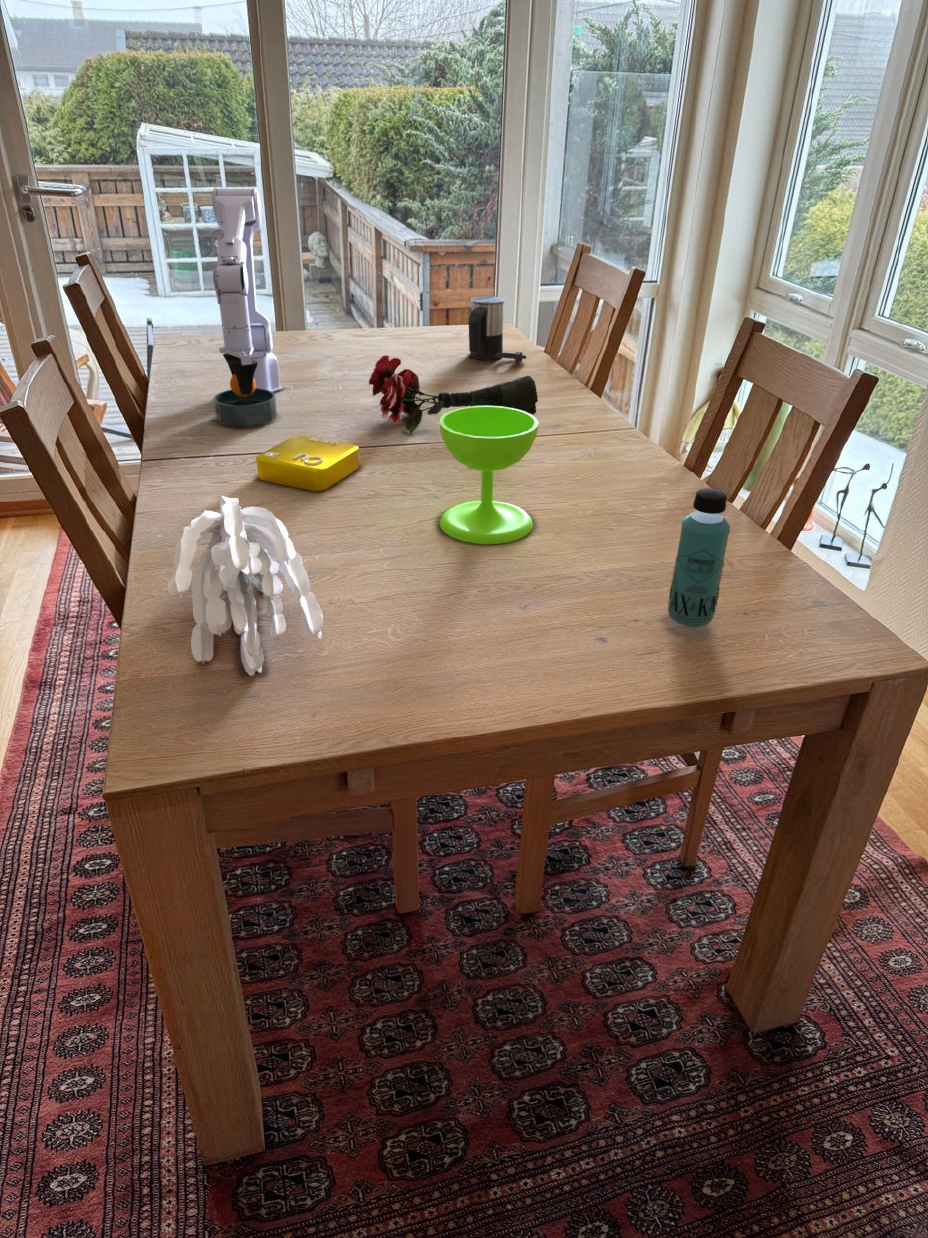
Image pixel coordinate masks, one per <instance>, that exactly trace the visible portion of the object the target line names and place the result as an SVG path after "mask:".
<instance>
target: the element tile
mask: <svg viewBox="0 0 928 1238" xmlns="http://www.w3.org/2000/svg"><path fill="white" fill-rule="evenodd" d="M359 450H360V449H359V446H358V445H357V444H353V443H348V442H342V441H337V440H333V439H326V438H320V437H315V436H309V435H304V434H296V435H294V436H291V437H289V438H287V439H285V440H284V441H282V442H280V443H278V444H276V445H275V446H273V447H271V448H268V449H267V450H265V451H263V452H262V453H260V454H258V455H257V456H256V457H255V461H256V470H257V477H258V479H259V480H261V481H263V482H268V483H272V484H276V485H277V484H278V485H282V486H286V487H287V486H288V487H290V488H291V487H292V488H297V489H302V490H307V491H312V492H323V491H326V490H328V489H329V488H331V487H333V486H334V485H336V484H337V483H339V482H340V481H342V480H343V479H345V478H346V477H348V476H350V475H351V474H352V473H354V472H356V471H357V470H358V469H359V468H360V451H359Z"/></svg>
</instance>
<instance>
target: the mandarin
mask: <svg viewBox="0 0 928 1238" xmlns="http://www.w3.org/2000/svg"><path fill="white" fill-rule="evenodd" d="M229 386H230V390H232V391H233V392H234V393H235V394H236V395H237V396H240V397H248V396H250V395H251V394H252V393H253V392H254V391H255V388H256V382H255V379H254V377H253V387H252V393H251V394H244V395H242V394H241V391H240V389H239V385H238V381H237V378H236V375H235V374H234V375H233V376H232V375H231V377H230V381H229Z"/></svg>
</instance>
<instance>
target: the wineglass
mask: <svg viewBox="0 0 928 1238" xmlns="http://www.w3.org/2000/svg"><path fill="white" fill-rule="evenodd" d="M438 422H439V428H440V435H441V439H442V442H443V443H444V447H446V449H447V450H448V452H449V453H450V454H451V456H452V457H453V458H454V459H455V460H456V461H457V462H459V463H461V464H462V465H464V466H465V467H467V468H468V469H471V470H475V471H480V472H481V487H480V488H481V489H480V491H481V493H480V495H481V497H480V500H473V501H467V502H462V503H458V504H456V505H454V506H452V507H450V508H448V509H447V510H446V511H445V512H444V513H443V514H442V515H441V518H440V519H439V528H440V529H441V530H442V531H443V533H445V534H446V535H447V536H449V537H450V538H453V539H456V540H458V541H461V542H465V543H470V544H476V545H477V544H478V545H479V544H480V545H500V544H506V543H511V542H514V541H518V540H520V539H522V538H524V537H526V536H528V534H530V533H531V531H532V530H533V527H534V523H533V520H532V518H531V516H530V515H529V514H528V513H527V512H526V511H525V510H524V509H522V508H520V507H519V506H516V505H513V504H511V503H509V502H508V503H507V502H502V501H496V500H493V498H494V496H493V495H494V472H497V471H502V470H503V471H504V470H506V469H508V468H510V467H512V466H514V465H516V464H517V463H518V462H520V461H521V460H522V459H523V458H524V457H525V456H526V455H527V454H528V453H529V452H530V450H531V448H532V446H533V444H534V443H535V440H536V437H537V434H538V430H539V429H538V428H539V422H540V421H539V420H538V418H537V417H536V416H534V415H532V414H530V413H527V412H525V411H522V410H518V409H515V408H509V407H502V406H463V407H458V408H456V409H452V410H449V411H447V412H446V413H444V414H442V415H441V416H440V418H439V419H438Z"/></svg>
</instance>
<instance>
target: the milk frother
mask: <svg viewBox="0 0 928 1238" xmlns="http://www.w3.org/2000/svg"><path fill="white" fill-rule="evenodd" d="M470 301H471V311H470V314H469V317H468V347H469V348H468V350H469V351H468V352H470V353H469V356H470V357H471V358H474V359H478V360H487V361H488V360H498V359H513V360H514V362H515V363H522V362H523V360H526V359H527V355H524V354H523V352H522V351H516V352H515V353H514V352H504V315H505V314H504V313H505V311H504V310H505V302H506V299H505V298H503V297H499V296H491V295H483V296H480V295H479V296H475V297H471V298H470Z"/></svg>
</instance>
